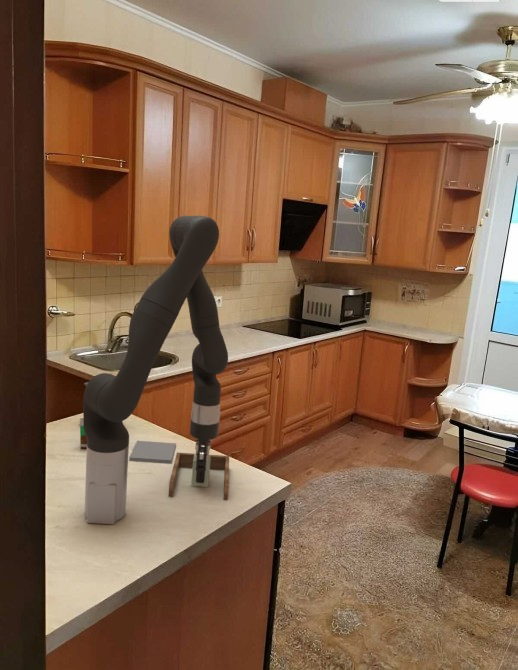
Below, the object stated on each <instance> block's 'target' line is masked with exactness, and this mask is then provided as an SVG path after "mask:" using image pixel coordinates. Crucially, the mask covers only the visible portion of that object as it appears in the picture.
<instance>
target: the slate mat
mask: <svg viewBox="0 0 518 670" xmlns="http://www.w3.org/2000/svg"><path fill="white" fill-rule="evenodd" d="M176 446H177V443H176V442H175V443H174V442H164V441H163V442H161V441H147V440H136V442H135V445H134V447H133V449H132V451H131V453H130V456H128V462H129V461H130V462H132V461H133V462H143V463H144V462H145V463H159V464H172V463H173V459H174V454H175V451H176Z"/></svg>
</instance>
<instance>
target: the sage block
mask: <svg viewBox="0 0 518 670" xmlns="http://www.w3.org/2000/svg"><path fill="white" fill-rule="evenodd" d="M193 454H194V459H193V468H191V471H192V473H191V484H190V485H191V486H192V487H203V488H204V487H206V488H207V487H208V488H209V484H210V482H209V481H210V472H211V471H210V470H211V469H210V460H211V455H212V454H209V458H208V461H207V462H206V470H205V478H204V483H197V482H196V473H197V471H196V462H197V461H196V460H195V456H196V453H193ZM206 457H207V456H206ZM199 465H200V464H199ZM199 465H198V466H199ZM202 466H204V465H202Z"/></svg>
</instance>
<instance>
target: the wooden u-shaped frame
mask: <svg viewBox="0 0 518 670" xmlns="http://www.w3.org/2000/svg"><path fill="white" fill-rule="evenodd" d="M194 454H195V453H191V452H187V453H186V452H178V451H177V452H176V455H175V459H174V461H173V466H172V471H171V474H170V478H169V483H168V494H167V495H168V496H167V497H170V498H171V497H173V496H174V491H175V486H176V482H177V478H178V474H179V470H180V468H186V469H192V468H193V459H194ZM210 455H211V460H210V470H216V471H224V477H223V479H224V481H223V500H224V501H228V499H229V498H228V497H229V496H228V495H229V488H230V487H229V484H230V483H229V480H230V455H219V454H210Z"/></svg>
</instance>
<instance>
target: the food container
mask: <svg viewBox="0 0 518 670" xmlns="http://www.w3.org/2000/svg"><path fill="white" fill-rule="evenodd" d="M79 430H80V433H79V434H80V437H79V438H80V439H79V440H80V441H79V442H80V450H87V438H86V435H85V432H84V422H83V418H80V419H79Z"/></svg>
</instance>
